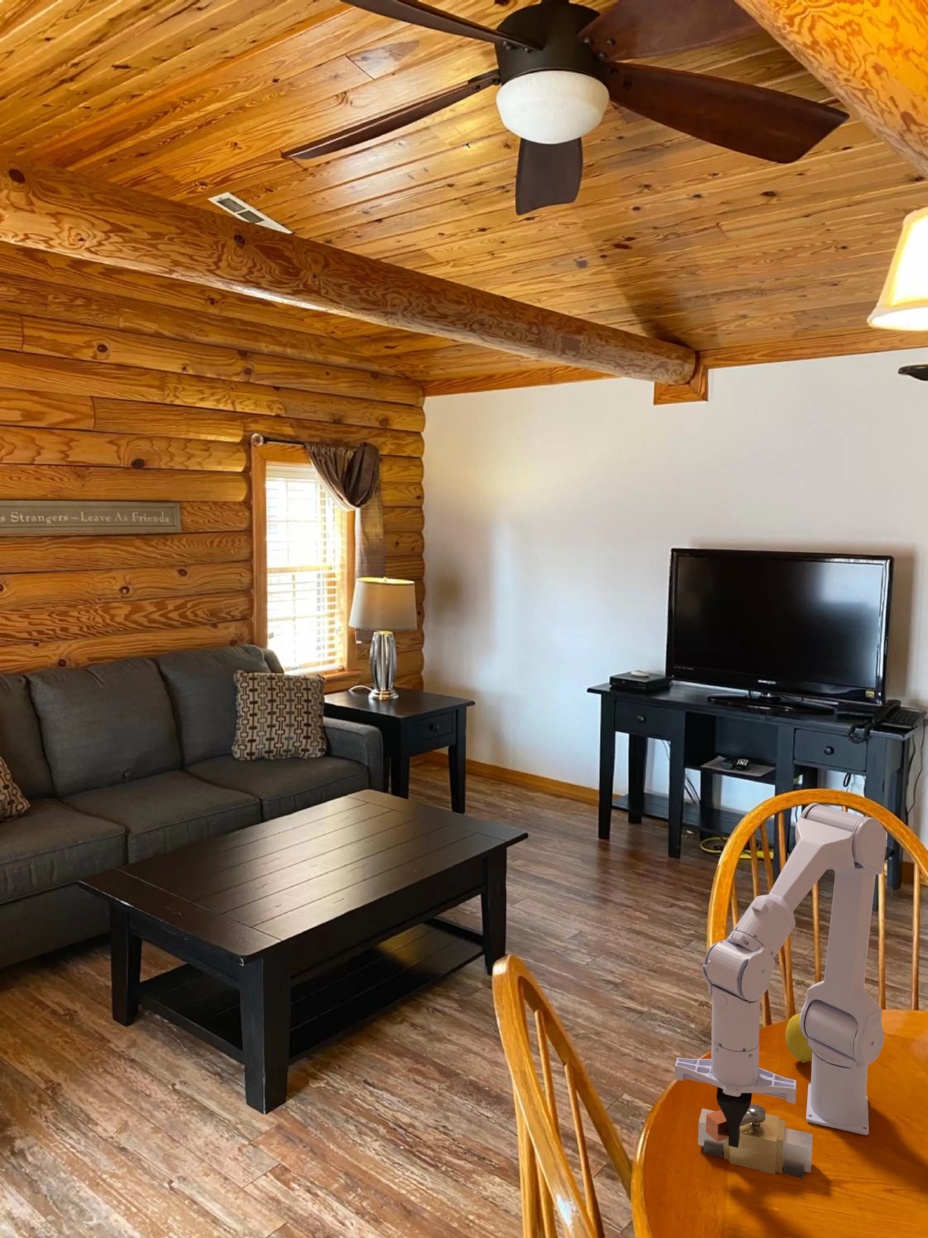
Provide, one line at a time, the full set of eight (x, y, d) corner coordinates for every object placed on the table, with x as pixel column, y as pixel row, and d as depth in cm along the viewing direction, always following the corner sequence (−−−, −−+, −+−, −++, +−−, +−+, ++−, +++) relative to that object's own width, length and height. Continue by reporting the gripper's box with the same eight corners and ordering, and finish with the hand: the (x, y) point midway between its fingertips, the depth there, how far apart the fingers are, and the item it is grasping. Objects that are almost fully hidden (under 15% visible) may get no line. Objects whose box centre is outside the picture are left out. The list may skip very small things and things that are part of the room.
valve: (702, 1130, 127) (703, 1095, 126) (811, 1156, 122) (813, 1120, 121) (696, 1154, 122) (697, 1118, 121) (810, 1183, 116) (811, 1146, 116)
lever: (755, 1115, 123) (756, 1097, 123) (769, 1125, 121) (769, 1107, 120) (705, 1132, 119) (705, 1114, 119) (717, 1143, 117) (718, 1124, 117)
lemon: (823, 1075, 140) (825, 1024, 140) (784, 1069, 142) (786, 1018, 141) (820, 1056, 146) (822, 1007, 145) (783, 1050, 147) (785, 1001, 146)
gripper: (671, 1044, 115) (670, 1148, 116) (795, 1068, 109) (793, 1176, 111) (679, 1017, 121) (678, 1115, 122) (797, 1038, 116) (795, 1140, 117)
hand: (733, 1142), depth 117 cm, fingers closed, pressing on lever
